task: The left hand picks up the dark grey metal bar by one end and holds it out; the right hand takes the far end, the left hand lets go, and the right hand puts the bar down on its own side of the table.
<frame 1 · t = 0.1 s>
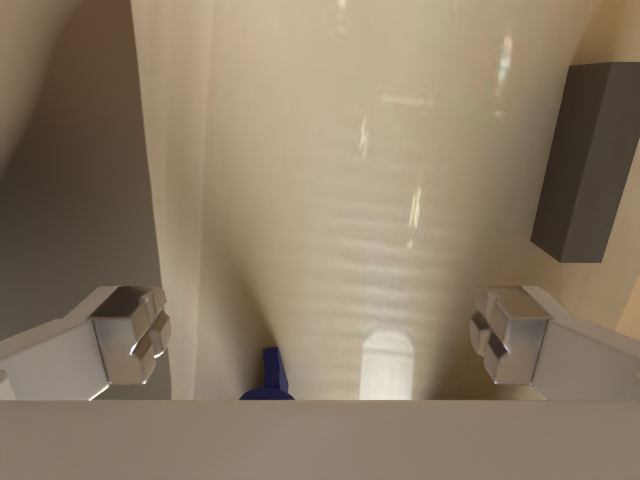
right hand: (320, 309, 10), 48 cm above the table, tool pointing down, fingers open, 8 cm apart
figurine: (266, 382, 72), on the table
bar: (567, 160, 56), on the table
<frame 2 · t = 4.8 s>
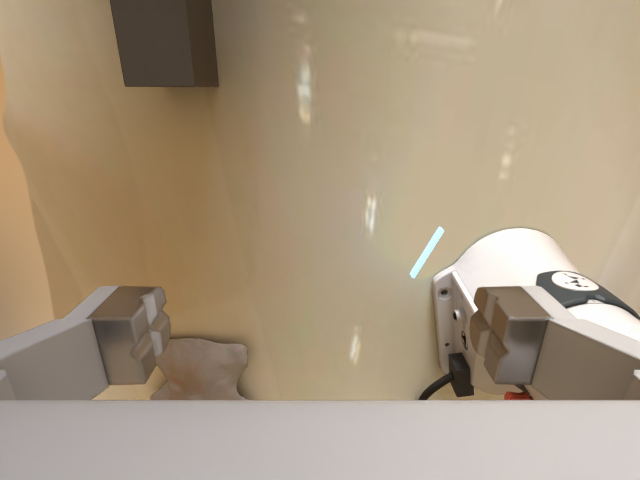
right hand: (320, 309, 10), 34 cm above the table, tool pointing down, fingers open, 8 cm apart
arrowhead: (207, 419, 56), on the table
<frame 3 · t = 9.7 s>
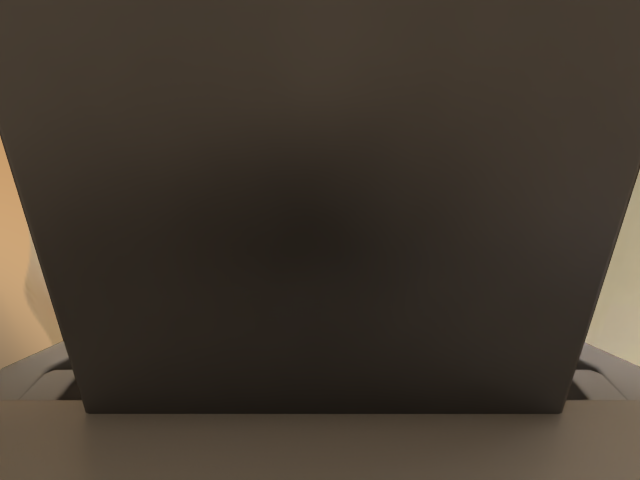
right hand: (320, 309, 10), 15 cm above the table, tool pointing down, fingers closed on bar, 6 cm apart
when the left hand's fingers open (14 cm above the table, at t = 10.9 s): bar stays where it is, held by the right hand.
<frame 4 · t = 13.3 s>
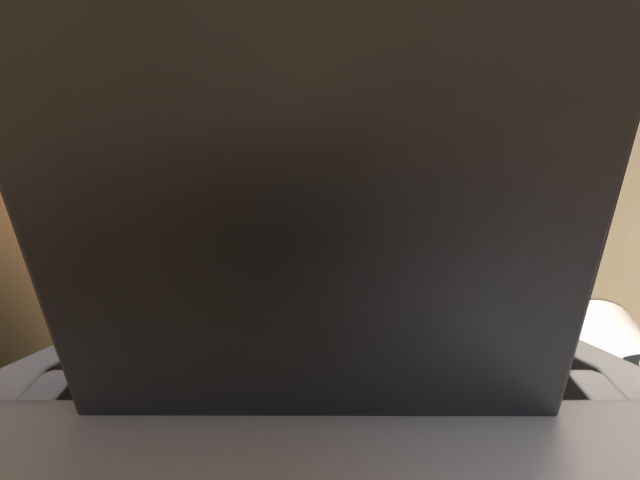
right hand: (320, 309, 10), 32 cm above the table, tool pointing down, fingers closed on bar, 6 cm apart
when the right hand's fingers open (5 cm above the table, at t = 19.4 s): bar stays where it is, on the table.
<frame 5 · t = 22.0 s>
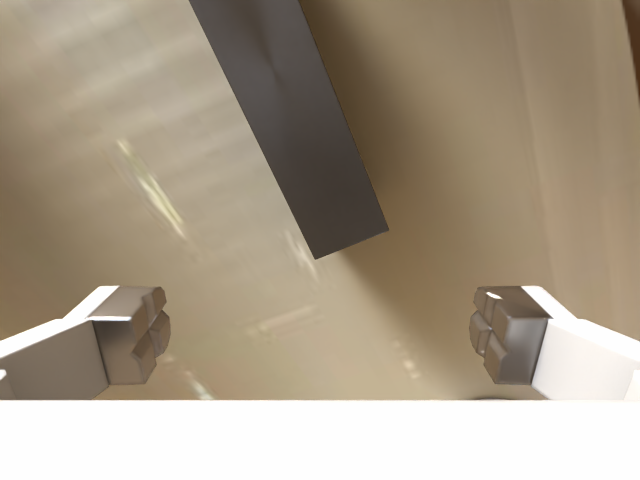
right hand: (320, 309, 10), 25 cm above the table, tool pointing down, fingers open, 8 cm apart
bar: (285, 73, 31), on the table
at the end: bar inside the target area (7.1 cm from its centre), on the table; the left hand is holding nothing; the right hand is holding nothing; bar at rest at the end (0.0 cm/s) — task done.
